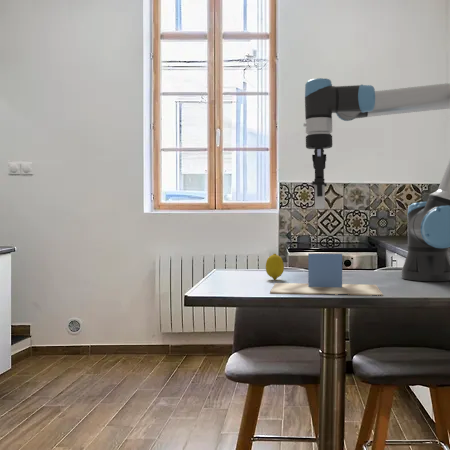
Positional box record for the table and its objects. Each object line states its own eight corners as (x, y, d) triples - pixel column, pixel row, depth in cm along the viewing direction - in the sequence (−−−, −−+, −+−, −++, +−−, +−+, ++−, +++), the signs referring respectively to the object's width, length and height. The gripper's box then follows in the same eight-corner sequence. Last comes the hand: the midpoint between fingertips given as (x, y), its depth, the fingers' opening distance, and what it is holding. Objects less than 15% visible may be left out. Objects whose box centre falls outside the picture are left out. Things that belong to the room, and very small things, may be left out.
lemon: (282, 281, 175) (282, 254, 175) (264, 280, 177) (264, 254, 176) (284, 278, 181) (284, 253, 181) (266, 278, 182) (266, 252, 182)
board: (376, 286, 163) (376, 284, 163) (382, 295, 145) (382, 294, 145) (275, 284, 168) (275, 283, 168) (269, 293, 150) (269, 291, 150)
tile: (341, 286, 160) (341, 253, 159) (342, 287, 158) (342, 254, 158) (308, 286, 161) (308, 253, 161) (308, 286, 159) (308, 253, 159)
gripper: (306, 139, 181) (308, 208, 181) (304, 129, 156) (305, 209, 157) (331, 138, 179) (332, 208, 180) (332, 128, 155) (334, 208, 155)
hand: (320, 208), depth 168 cm, fingers open, 13 cm apart
